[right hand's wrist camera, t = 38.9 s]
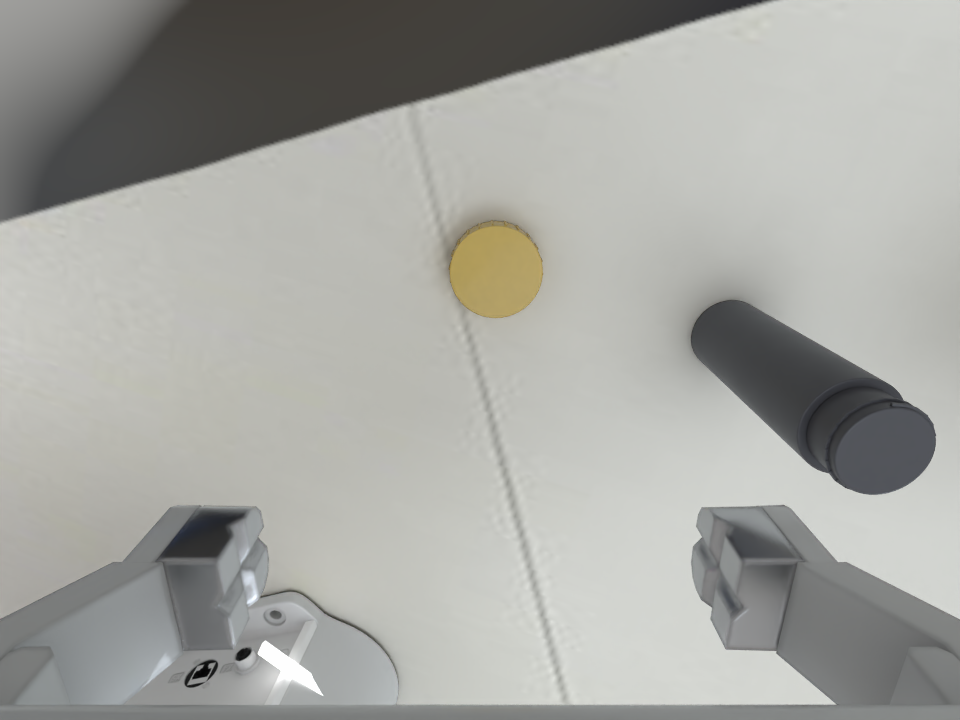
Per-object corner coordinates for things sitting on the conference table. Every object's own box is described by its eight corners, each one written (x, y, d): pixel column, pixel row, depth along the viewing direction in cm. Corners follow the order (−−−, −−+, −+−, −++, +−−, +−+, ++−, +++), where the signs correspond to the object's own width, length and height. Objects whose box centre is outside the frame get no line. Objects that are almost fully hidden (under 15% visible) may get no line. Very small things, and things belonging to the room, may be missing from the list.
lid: (504, 200, 34) (505, 204, 32) (557, 274, 36) (562, 282, 33) (432, 256, 35) (429, 264, 33) (487, 325, 37) (487, 337, 34)
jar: (753, 370, 38) (923, 506, 23) (684, 365, 38) (811, 499, 23) (771, 302, 36) (964, 403, 22) (699, 297, 36) (845, 395, 22)
